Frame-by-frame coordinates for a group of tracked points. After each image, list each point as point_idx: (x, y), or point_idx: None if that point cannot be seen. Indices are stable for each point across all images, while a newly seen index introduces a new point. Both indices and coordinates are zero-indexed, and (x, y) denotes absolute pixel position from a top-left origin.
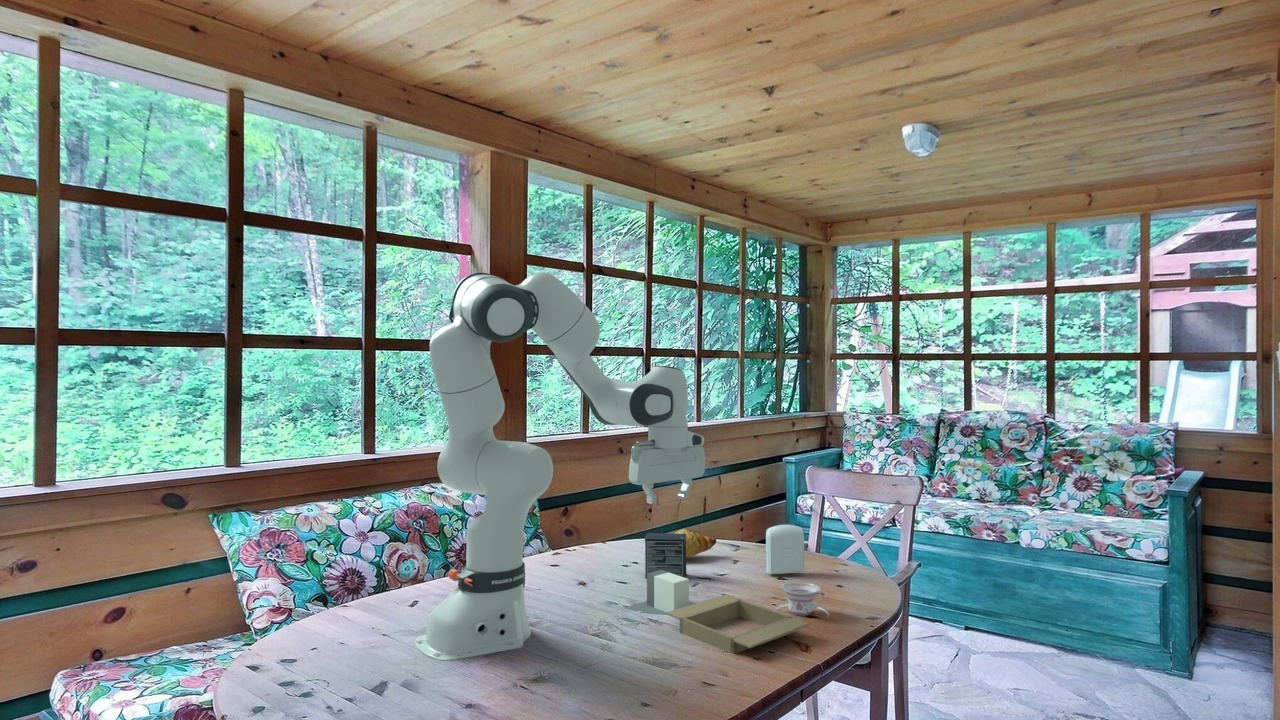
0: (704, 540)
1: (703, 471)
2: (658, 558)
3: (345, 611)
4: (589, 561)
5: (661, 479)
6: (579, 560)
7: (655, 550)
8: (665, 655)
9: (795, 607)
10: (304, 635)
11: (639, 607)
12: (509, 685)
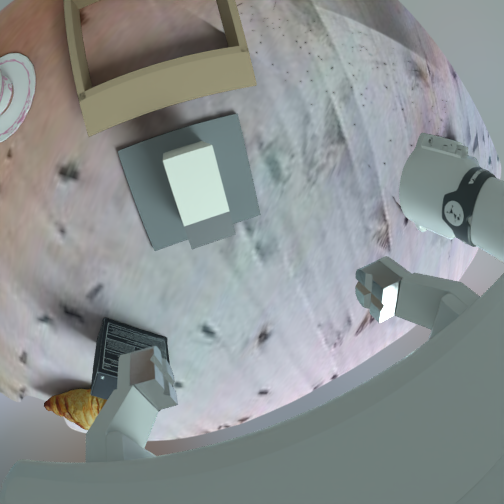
0: (59, 405)
1: (6, 483)
2: None
3: None
4: (218, 400)
5: (452, 342)
6: (228, 403)
7: None
8: (291, 23)
9: (6, 81)
10: (467, 256)
11: (239, 204)
12: (435, 81)
